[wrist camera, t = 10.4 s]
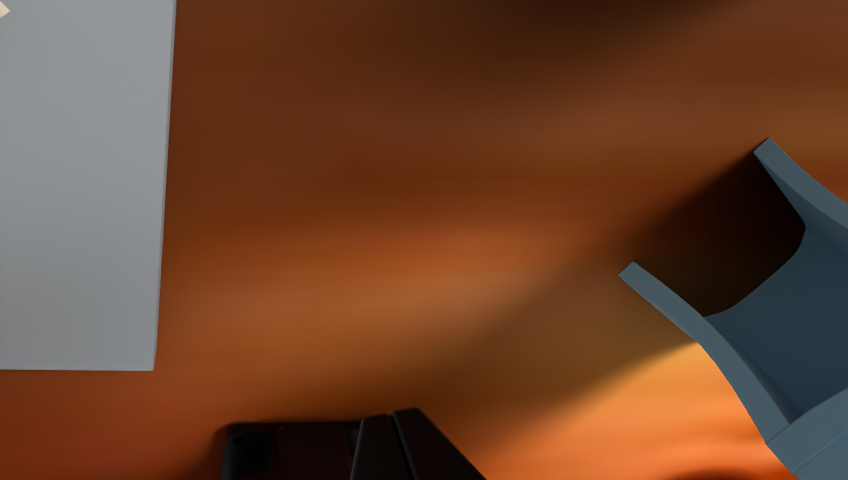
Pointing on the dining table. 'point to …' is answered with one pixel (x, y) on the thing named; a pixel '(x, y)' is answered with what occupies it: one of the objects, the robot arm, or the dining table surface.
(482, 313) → the dining table surface
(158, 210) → the board
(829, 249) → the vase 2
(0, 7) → the flange plate
